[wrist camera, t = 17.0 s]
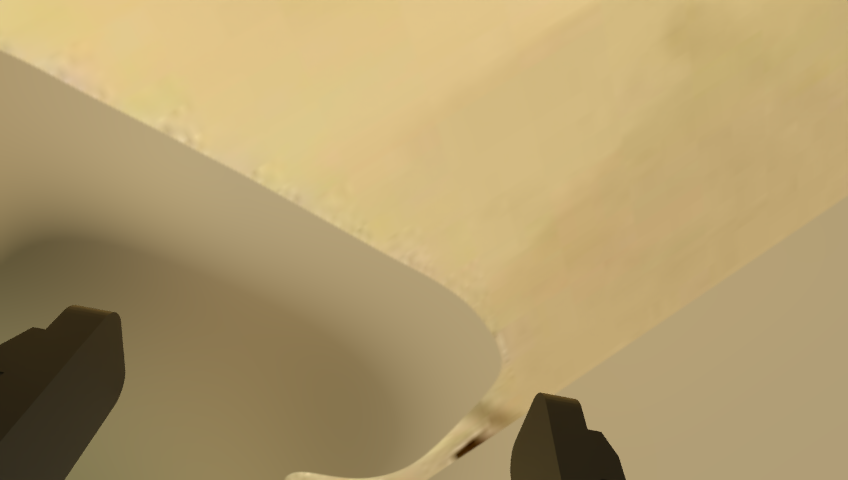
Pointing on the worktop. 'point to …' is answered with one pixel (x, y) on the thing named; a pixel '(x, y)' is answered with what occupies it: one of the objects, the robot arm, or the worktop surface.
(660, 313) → the worktop surface
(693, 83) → the worktop surface
